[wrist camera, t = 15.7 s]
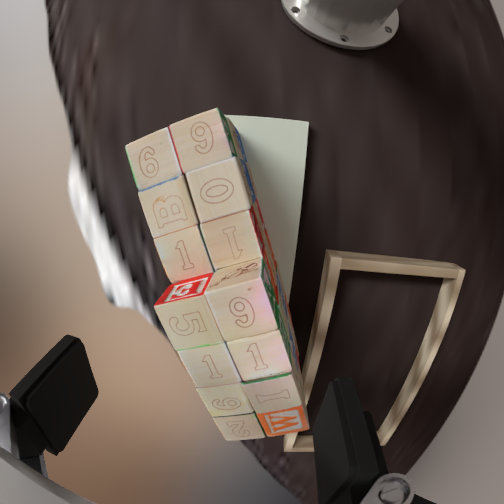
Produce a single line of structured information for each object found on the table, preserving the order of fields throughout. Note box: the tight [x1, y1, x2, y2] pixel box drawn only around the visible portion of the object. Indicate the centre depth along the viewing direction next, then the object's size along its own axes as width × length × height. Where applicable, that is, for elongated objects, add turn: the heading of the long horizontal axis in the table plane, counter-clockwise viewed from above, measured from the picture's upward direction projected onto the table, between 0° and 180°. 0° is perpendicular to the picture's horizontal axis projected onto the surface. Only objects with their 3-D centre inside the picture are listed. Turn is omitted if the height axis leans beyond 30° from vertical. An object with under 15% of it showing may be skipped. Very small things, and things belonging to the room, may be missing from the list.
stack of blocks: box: [125, 108, 309, 441], centre depth 20 cm, size 21×6×12 cm, turn 16°
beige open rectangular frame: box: [284, 249, 465, 452], centre depth 29 cm, size 29×16×2 cm, turn 175°
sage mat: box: [224, 115, 309, 304], centre depth 26 cm, size 26×10×1 cm, turn 175°
